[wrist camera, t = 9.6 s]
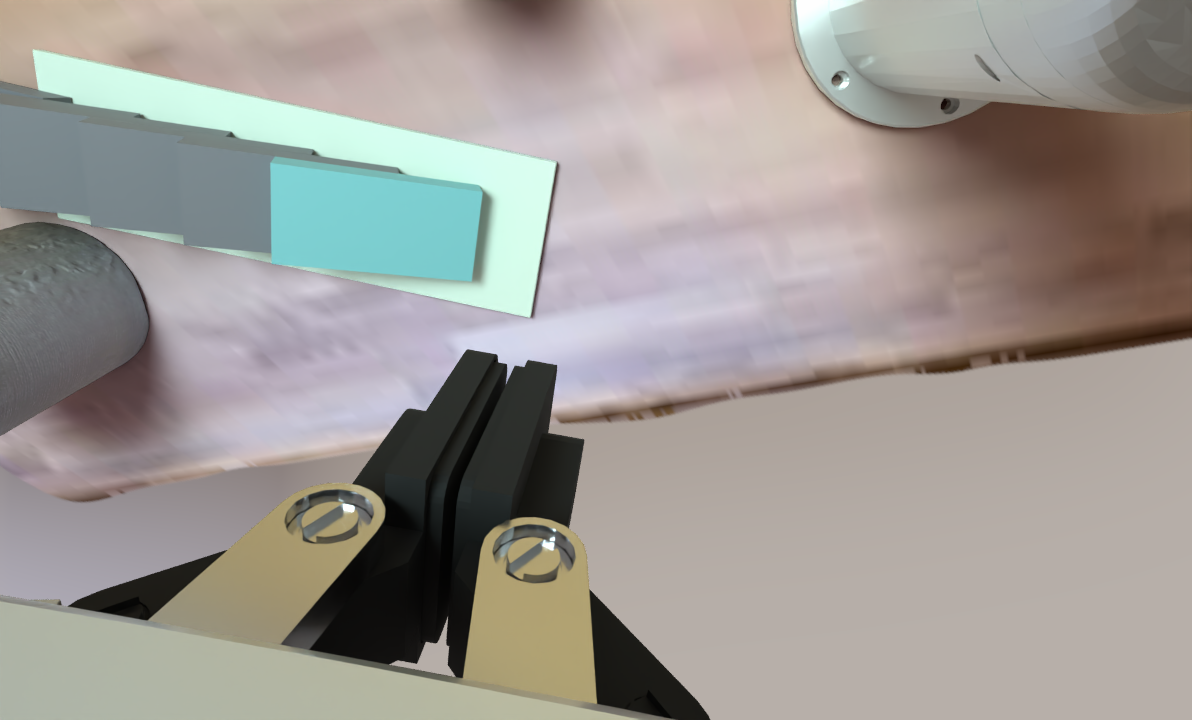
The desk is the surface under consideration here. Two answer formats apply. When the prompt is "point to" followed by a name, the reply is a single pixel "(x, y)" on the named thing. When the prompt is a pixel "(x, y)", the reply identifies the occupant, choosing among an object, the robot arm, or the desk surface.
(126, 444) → the desk surface
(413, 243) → the tile
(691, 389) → the desk surface
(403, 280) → the mat
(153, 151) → the tile
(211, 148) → the tile
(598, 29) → the desk surface
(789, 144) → the desk surface
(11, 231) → the pillar candle
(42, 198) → the tile
